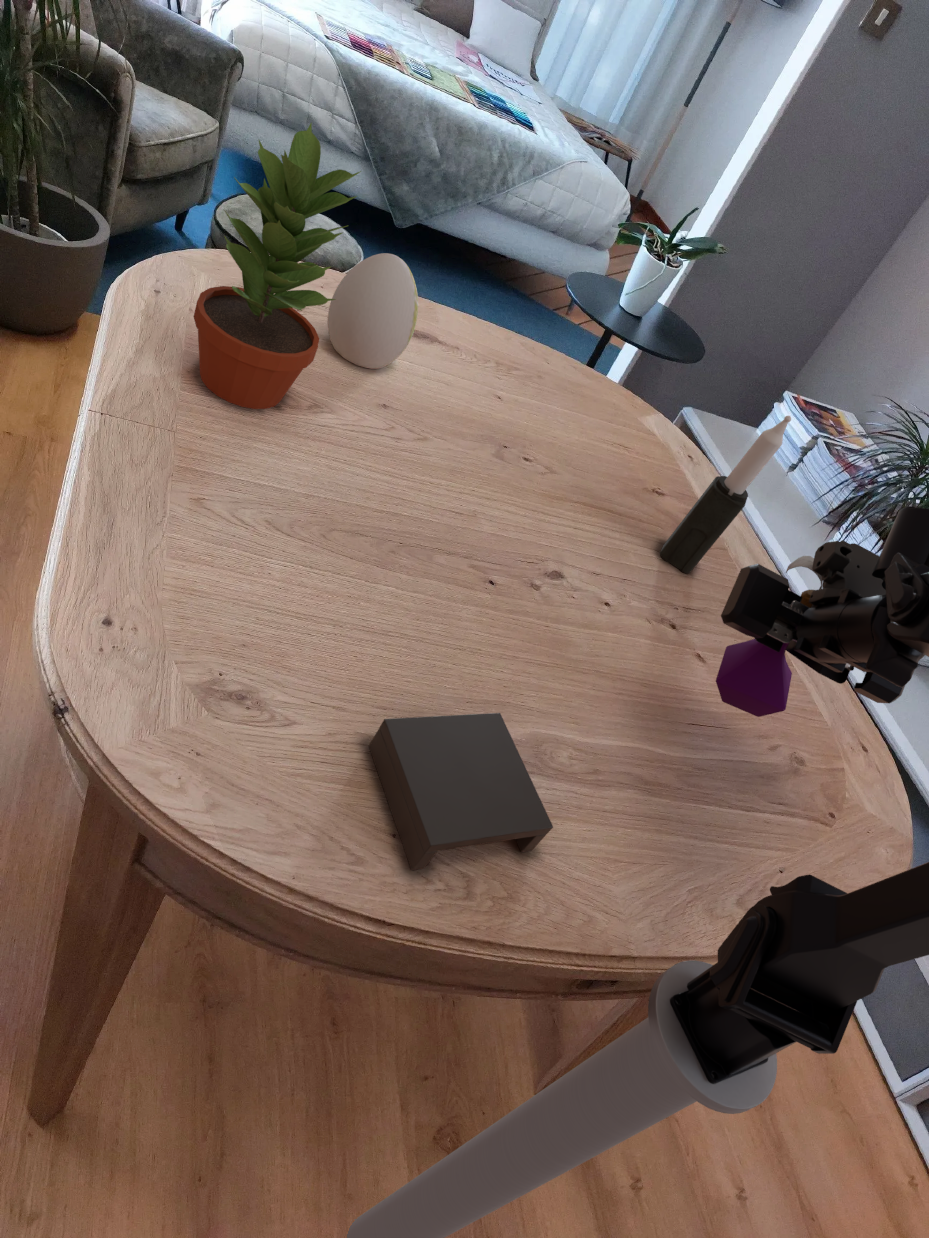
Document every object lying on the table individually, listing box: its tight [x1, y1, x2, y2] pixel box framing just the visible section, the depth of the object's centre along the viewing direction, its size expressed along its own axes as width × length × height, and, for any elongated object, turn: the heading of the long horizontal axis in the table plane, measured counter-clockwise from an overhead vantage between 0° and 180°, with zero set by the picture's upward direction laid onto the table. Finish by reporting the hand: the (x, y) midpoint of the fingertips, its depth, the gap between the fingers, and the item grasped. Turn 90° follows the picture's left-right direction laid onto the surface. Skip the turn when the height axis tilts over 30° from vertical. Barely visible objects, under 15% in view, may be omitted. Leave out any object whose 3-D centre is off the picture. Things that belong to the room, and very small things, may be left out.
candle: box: [659, 415, 792, 575], centre depth 113 cm, size 5×5×25 cm
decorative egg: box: [327, 252, 419, 370], centre depth 118 cm, size 12×12×15 cm
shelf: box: [368, 712, 554, 871], centre depth 72 cm, size 12×12×4 cm
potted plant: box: [193, 122, 362, 410], centre depth 95 cm, size 15×15×30 cm
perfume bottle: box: [715, 555, 823, 718], centre depth 87 cm, size 8×8×18 cm
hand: (773, 638), depth 88 cm, fingers closed on perfume bottle, 3 cm apart
